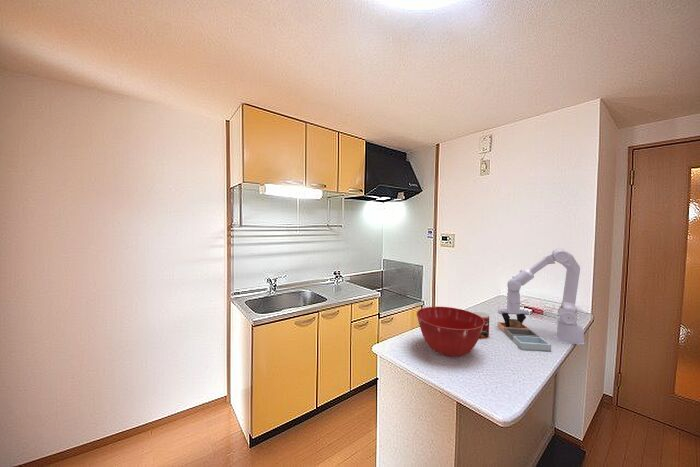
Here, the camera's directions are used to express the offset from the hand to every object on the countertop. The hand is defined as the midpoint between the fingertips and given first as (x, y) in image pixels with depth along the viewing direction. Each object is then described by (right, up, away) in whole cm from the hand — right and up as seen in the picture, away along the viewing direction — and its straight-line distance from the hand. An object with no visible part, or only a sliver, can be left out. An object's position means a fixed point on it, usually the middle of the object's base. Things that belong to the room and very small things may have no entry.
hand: (513, 327), depth 139 cm
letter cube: (0, -1, 0) cm, 1 cm away
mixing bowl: (-42, -3, -21) cm, 47 cm away
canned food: (-20, -2, -6) cm, 21 cm away
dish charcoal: (-1, -2, -9) cm, 9 cm away
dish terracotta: (0, -2, 0) cm, 2 cm away
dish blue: (-3, -2, -18) cm, 18 cm away
